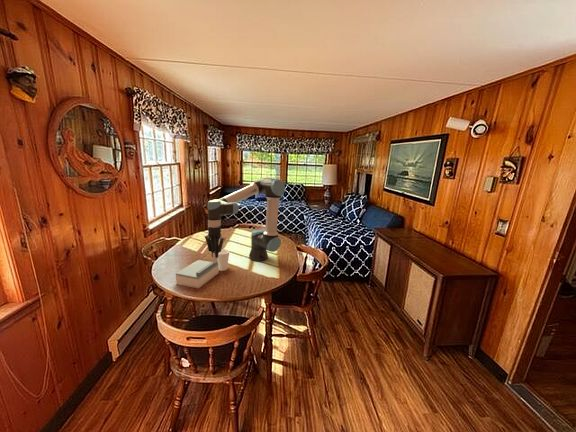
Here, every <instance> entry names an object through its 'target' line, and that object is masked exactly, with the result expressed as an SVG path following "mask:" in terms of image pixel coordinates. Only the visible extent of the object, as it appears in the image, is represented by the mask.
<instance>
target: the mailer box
mask: <svg viewBox="0 0 576 432" xmlns="http://www.w3.org/2000/svg"><path fill="white" fill-rule="evenodd" d="M219 271H220V270H219V268H218V265H217V266H216V267H214V268H213V269H212V270H210V271H209V272H208V273H206V274H205V275H203V276H202V277H201V278H199V279H195V278H190V277H184V276H179V275H176V274H175V282H176V285H179V286H183V287H189V288H194V289H200V288H201V287H203V286H204V285H206V284H207V283H208V282H209V281H210V280H212V279H214V277H215V276H217V275H218V274H220V272H219Z"/></svg>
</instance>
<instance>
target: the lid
mask: <svg viewBox="0 0 576 432" xmlns="http://www.w3.org/2000/svg"><path fill="white" fill-rule="evenodd" d="M217 265H218V261H217V262H216V263H213V261H206V260H201V259H198V260H196V261H194V262H193V263H191V264H189V265H187V266H185V267H184V268H182V269H180V270H179V271H176V272H175V276H176V275H179V276H184V277H190V278H195V279H199V278H201V277H202V276H203V275H205V274H206V273H208V272H209V271H210V270H212V269H213V268H214V267H216V266H217Z"/></svg>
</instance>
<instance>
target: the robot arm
mask: <svg viewBox="0 0 576 432" xmlns="http://www.w3.org/2000/svg"><path fill="white" fill-rule="evenodd" d="M284 193H286V185H285V183H284V182H283V180H281V179H279V178H274V177H273V178H272V177H271V178H270V177H262V178H260V179H257V180H255V181H253V182H251V183H250V184H249V185H247V186H245V187H243V188H241V189H238V190H237V191H233V192H232V193H230V194H228V195H225V196H223V197H221V198H219V199H217V198H216V199H215V198H214V199H212V200H209V201H208V202H207V232H208V233H207V235H205V236H204V238H205V241H206V246H207V250H208V252H211V258H212V262H213V263H216V262H217V258H218V253H219V252H221V250H222V249H223V244H224V241H225V239H226V238H225V237H223V236H222V233H221V232H222V227H221V225H222V216H230V215H232V216H233V215H237V214H238V212H239V210H240V207H239V204H238V203H239V202H242V201H244V200H245V199H248V198H250V197H252V196H254V195H255V196H256V195H260V194H265V195H264V196H265V198H266V212H265V213H266V214H265V215H266V217H265V229H255V230H252V231H251V235H250V237H251V238H250V240H251V242H250V243H251V245H250V247H251V248H250V252H249V254H248V259H249V260H250V261H253V262H263V261H266V260H268V258H269V254H268V252H271V253H274V252H277V251H278V249H280V247H281V245H282V240H281V238H280V237H279V232H278V231H277V230H278V219H279V218H278V217H279V205H280V204H279V203H280V199H282V196H283V195H284Z"/></svg>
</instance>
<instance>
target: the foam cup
mask: <svg viewBox="0 0 576 432" xmlns="http://www.w3.org/2000/svg"><path fill="white" fill-rule="evenodd" d="M229 256H230V250H229V249H223V248H222V250H221V252H219V253H218V258H217V261H218V268H219V271H220V272H221V271H222V272H223V271H227V270H228V264H229V258H230V257H229Z"/></svg>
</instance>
